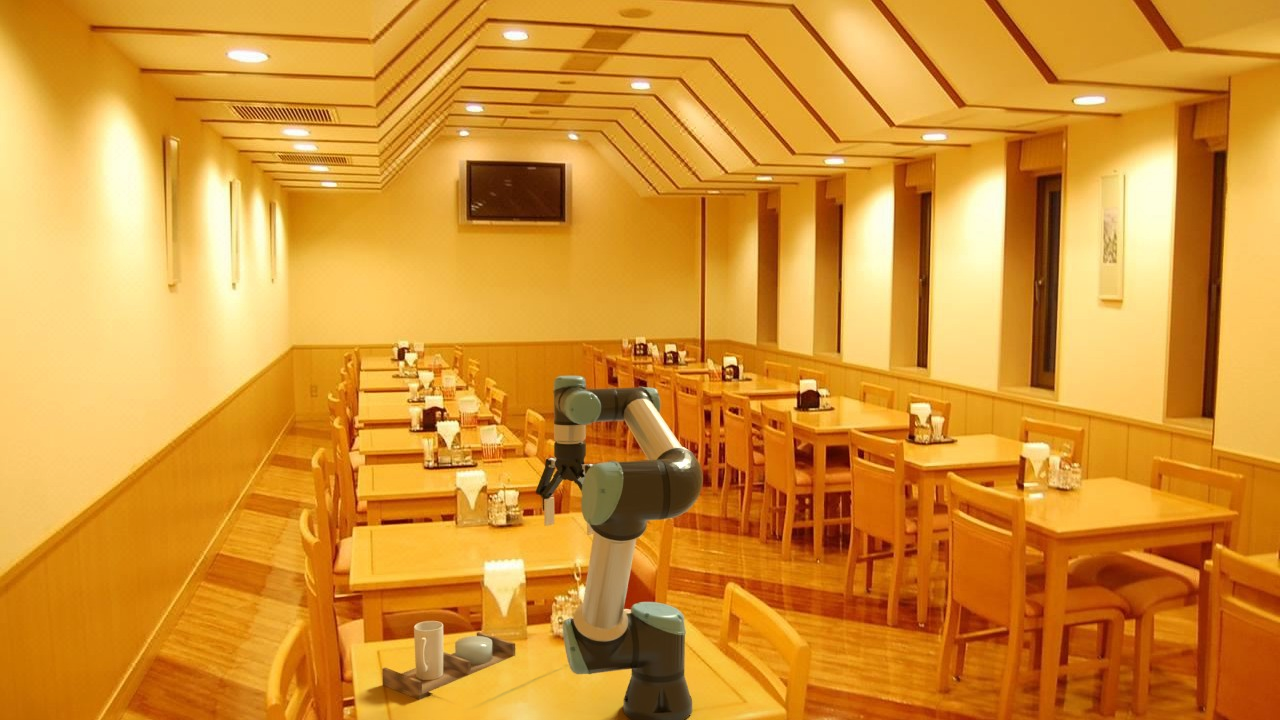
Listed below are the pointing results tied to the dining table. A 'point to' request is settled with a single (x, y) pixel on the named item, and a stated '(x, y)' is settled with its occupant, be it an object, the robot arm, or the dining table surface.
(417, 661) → the mug
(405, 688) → the rack
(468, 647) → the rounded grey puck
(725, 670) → the dining table surface
